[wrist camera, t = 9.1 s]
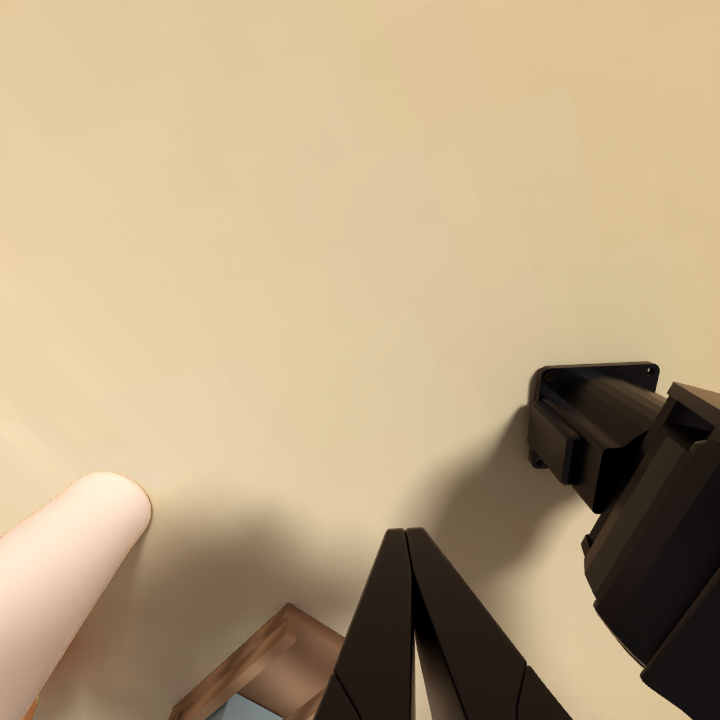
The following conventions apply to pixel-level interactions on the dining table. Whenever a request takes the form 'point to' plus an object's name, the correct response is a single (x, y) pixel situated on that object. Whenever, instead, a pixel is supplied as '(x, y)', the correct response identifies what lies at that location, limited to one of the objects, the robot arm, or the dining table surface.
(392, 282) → the dining table surface
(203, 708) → the track
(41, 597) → the drinking glass
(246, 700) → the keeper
